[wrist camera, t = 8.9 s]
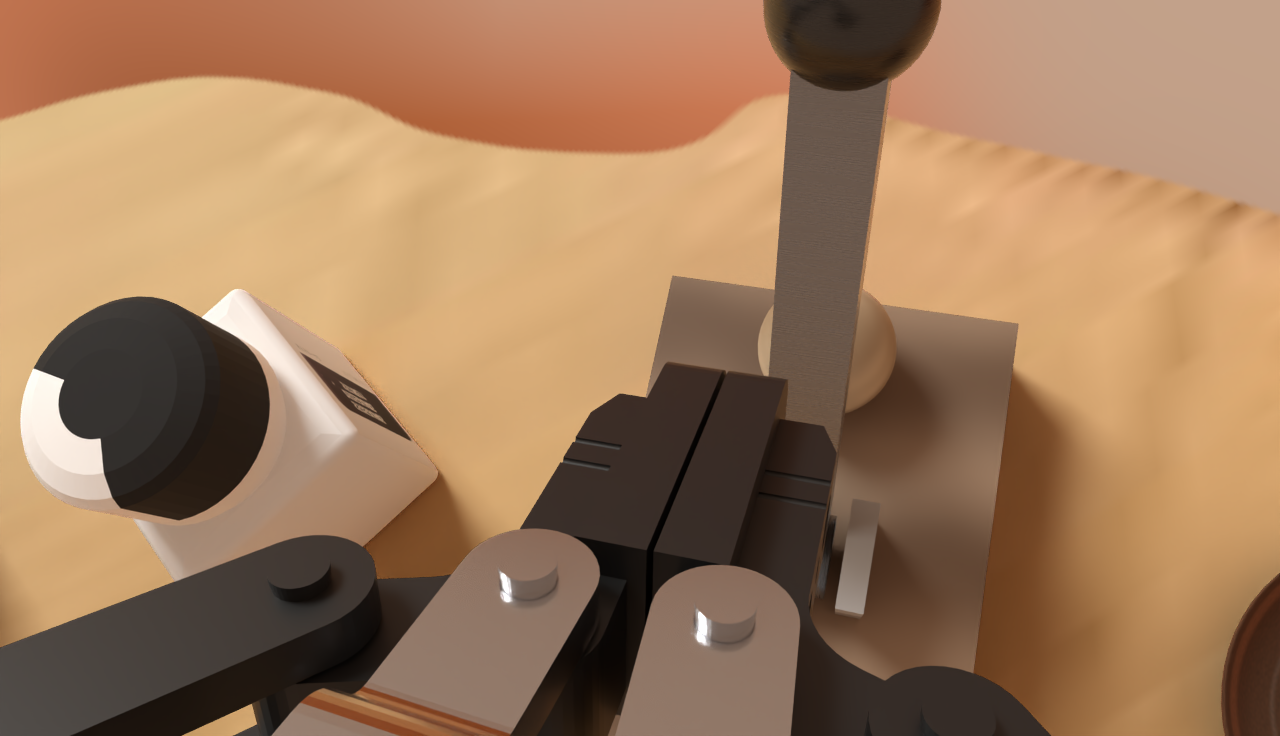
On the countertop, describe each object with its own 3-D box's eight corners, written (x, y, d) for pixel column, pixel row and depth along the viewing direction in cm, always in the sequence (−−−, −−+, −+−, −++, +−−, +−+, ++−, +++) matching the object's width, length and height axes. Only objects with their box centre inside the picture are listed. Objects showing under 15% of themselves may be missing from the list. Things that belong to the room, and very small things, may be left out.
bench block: (931, 872, 33) (962, 941, 25) (587, 780, 36) (517, 816, 28) (999, 357, 37) (1045, 276, 29) (687, 311, 40) (651, 225, 32)
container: (338, 345, 42) (136, 219, 30) (445, 475, 40) (272, 395, 28) (201, 469, 42) (-61, 392, 30) (300, 608, 39) (59, 587, 27)
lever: (838, 634, 30) (952, -59, 18) (722, 609, 31) (752, -70, 18) (852, 546, 33) (959, -109, 20) (745, 525, 34) (784, -116, 21)
